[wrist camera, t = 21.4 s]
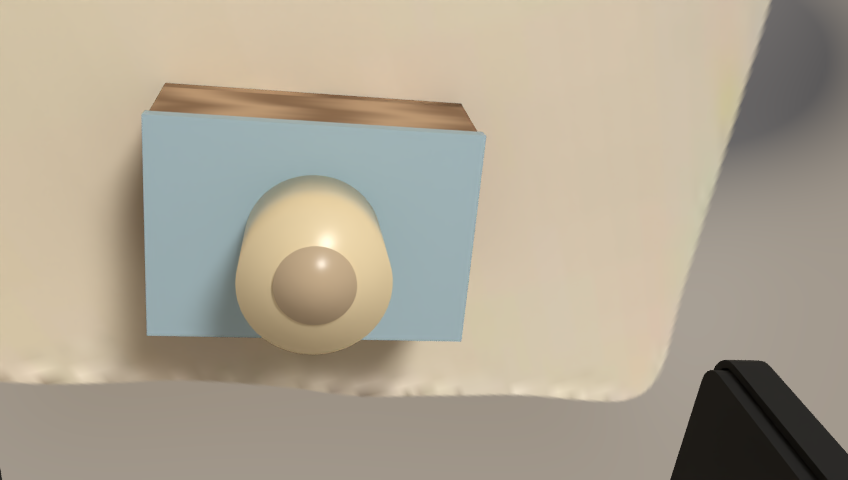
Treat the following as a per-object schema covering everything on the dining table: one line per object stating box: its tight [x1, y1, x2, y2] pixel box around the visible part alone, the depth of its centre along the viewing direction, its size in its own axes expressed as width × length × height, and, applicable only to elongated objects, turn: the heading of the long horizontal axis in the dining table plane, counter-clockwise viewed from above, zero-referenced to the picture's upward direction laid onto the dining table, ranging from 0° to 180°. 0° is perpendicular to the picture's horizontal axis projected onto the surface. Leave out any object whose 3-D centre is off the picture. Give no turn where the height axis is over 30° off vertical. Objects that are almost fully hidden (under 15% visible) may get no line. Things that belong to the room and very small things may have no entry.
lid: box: [142, 110, 486, 342], centre depth 36 cm, size 14×10×1 cm
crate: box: [149, 83, 477, 132], centre depth 39 cm, size 14×10×5 cm
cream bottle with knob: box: [235, 175, 393, 355], centre depth 33 cm, size 6×6×5 cm
